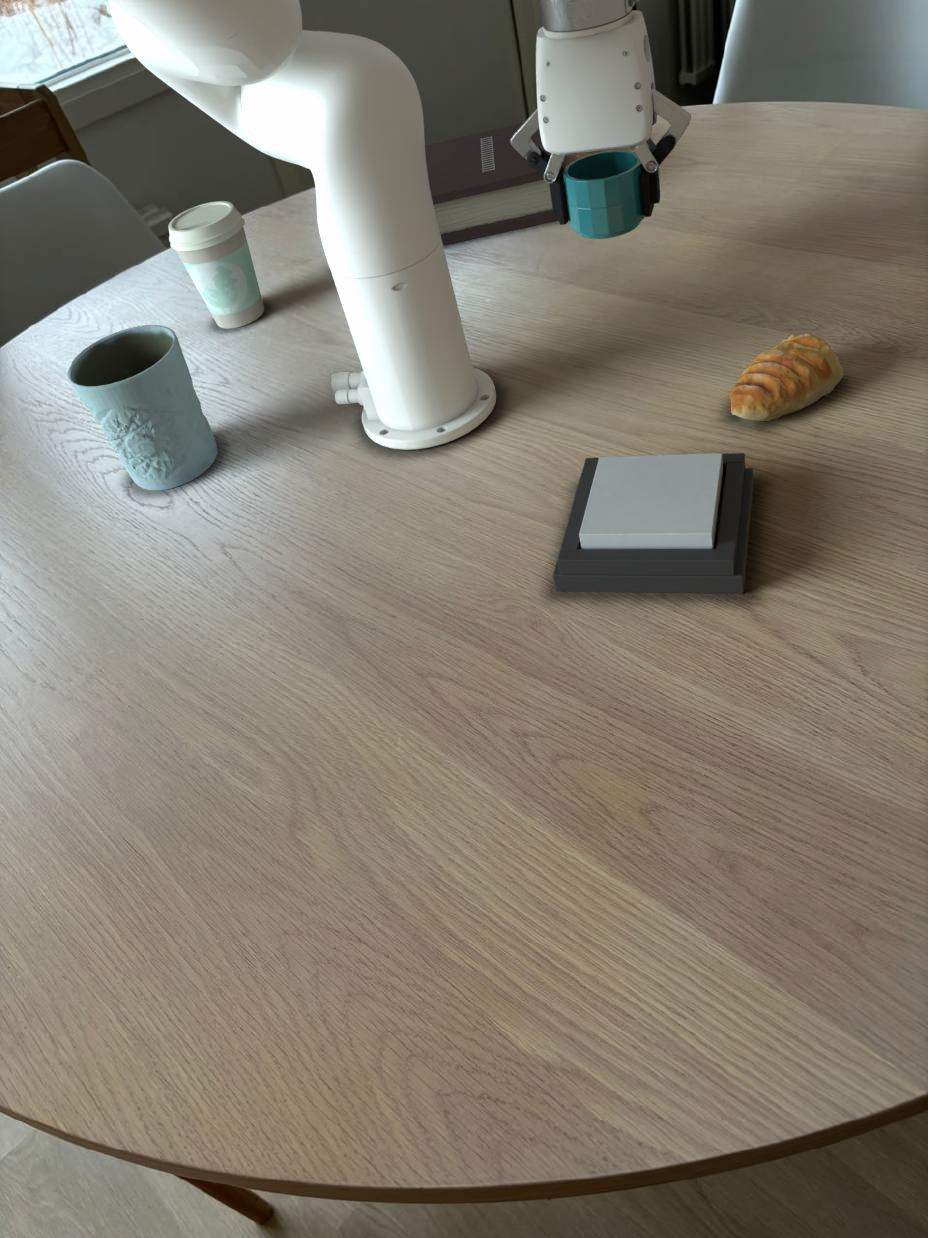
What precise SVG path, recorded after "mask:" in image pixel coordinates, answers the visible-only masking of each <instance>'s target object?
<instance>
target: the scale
mask: <svg viewBox="0 0 928 1238" xmlns="http://www.w3.org/2000/svg"><path fill="white" fill-rule="evenodd" d="M722 455H723V476H722V484H721V492H720V501H719V509H718V517H717V525H716V533H715V541H714V549H582V547H581V542H580V536H579V533H580V529H581V526H582V522H583V518H584V514H585V510H586V507H587V503H588V499H589V495H590V491H591V487H592V484H593V480H594V476H595V472H596V468H597V465H598V461H599V457H585V460H584V464H583V466H582V470H581V473H580V476H579V480H578V483H577V487H576V491H575V495H574V498H573V501H572V506H571V509H570V512H569V516H568V518H567V523H566V527H565V529H564V534H563V537H562V541H561V545H560V548H559V552H558V555H557V559H556V563H555V566H554V569H553V574H552V578H553V584H554V588H555V591H556V592H566V593H567V592H573V593H574V592H576V593H577V592H579V593H645V594H646V593H657V594H660V593H661V594H664V593H665V594H726V595H727V594H729V595H731V594H732V595H733V594H735V595H739V594H740V595H743V594H744V593H745V585H746V574H747V573H746V572H747V564H748V563H747V562H748V551H749V542H750V541H749V540H750V531H751V530H750V528H751V518H752V506H753V495H754V468H753V467H746V454H745V453H744V452H740V453H739V452H738V453H737V452H734V453H733V452H732V453H722Z"/></svg>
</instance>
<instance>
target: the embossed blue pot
mask: <svg viewBox="0 0 928 1238" xmlns="http://www.w3.org/2000/svg"><path fill="white" fill-rule="evenodd" d="M66 376H67V379H68V380H67V381H68V382H69V383H70V385H71V387H72V388H73V389H74V391H75V392H76V394H77V395H78V396H79V398H80V399H81V401H82V403H83V404H84V405H85V406H86V407H87V408H88V411H89V412H90V414H91V417H92V418H93V419H94V420H95V421H96V422H97V423H98V424H99V425H100V426H101V430H102V432H103V434H104V436H105V439H106V440H108V441H109V444H110V446H111V448H112V449H113V450H114V452H115V453H116V454H117V456H118V459H119V461H120V462H121V464H122V465H123V468H124V469H125V470H126V472H127V473H128V475H129V476H130V478H131V479H132V481H133V482H134V484H136V485H137V486H138V487H140V488H141V489H143V490H146V491H147V490H148V491H165V490H170V489H174V488H177V487H180V486H183V485H186V484H187V483H188V484H189V483H190V482H192V481H193V480H195V479H197V478H198V477H200V476H201V475H203V474H204V473H206V471H207V470H209V468H210V467H211V466H212V465H213V464H214V463H215V461H216V459H217V457H218V453H219V451H218V445H217V442H216V439H215V436H214V434H213V431H212V429H211V426H210V423H209V421H208V418H207V417H206V416H205V414H204V412H203V409H202V404H201V400H200V399H199V396H197V392H196V390H195V387H194V384H193V377H192V375H191V373H190V369H189V366H188V363H187V361H186V358H185V356H184V353H183V350H182V347H181V345H180V341H179V339H178V336H177V334H176V333H175V330H173V329H172V328H170V327H168V326H165V325H160V324H145V325H138V326H131V327H128V328H126V329H122V330H118V331H116V332H113V333H111V334H109V335H107V336H104V337H102V338H100V339H98V340H96V341H95V342H93V343H92V344H89V345H88V346H87V347H85V348H84V349H83V350H81V352H79V353H78V354H77V355H76V356H75V357H74V358H73V360H72V361H71V364H70V365H69V368H68V369H67V374H66Z"/></svg>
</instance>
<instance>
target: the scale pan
mask: <svg viewBox="0 0 928 1238" xmlns="http://www.w3.org/2000/svg"><path fill="white" fill-rule="evenodd" d="M722 454H723V452H722V453H721V452H715V453H714V452H712V453H709V452H708V453H679V454H678V453H677V454H652V455H651V454H648V455H619V456H618V455H617V456H616V455H615V456H599V457H598V458H599V461H598V465H597V468H596V472H595V476H594V480H593V484H592V487H591V491H590V495H589V499H588V503H587V507H586V510H585V514H584V518H583V522H582V526H581V529H580V533H579V536H580V542H581V547H582V549H714V541H715V533H716V525H717V517H718V509H719V501H720V492H721V484H722V476H723V455H722Z"/></svg>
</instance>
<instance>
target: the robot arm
mask: <svg viewBox="0 0 928 1238" xmlns="http://www.w3.org/2000/svg"><path fill="white" fill-rule="evenodd" d="M640 1H641V0H539V7H540V13H541V22H542V26H541V27H540V28H539V29H538V30H537V33H536V40H535V41H536V42H535V43H536V44H535V81H536V82H535V83H536V103H537V105H536V106H537V107H536V109H534V111H533V112H532V113H531V114H530V115H529V116H528V118H527V119H526V120H525V121H523V122H524V123H523V124H522V126H521V127H520V128H519V129H518V130H517V131H516V132H515V133H514V135H513V137H512V138H511V141H510V143H511V145H512V146H513V147H514V148H515V150H516V151H517V152H518V153H519V154H520V155H521V156H522V157H523V158H525V159H526V160H527V162H528V164H529V165H530V166H531V167H532V168H534V169H535V170H536V171H537V172H539V173H540V174H541V175H542V176H543V177H544V180H545V181H546V182H547V183H549V186H550V194H551V201H552V208H553V212H554V213H558V214H559V220H558V222H559V225H560V226H563V225H567V223H568V224H569V218H568V210H567V202H566V195H565V187H564V179H563V171H564V169H565V167H564V166H563V165H564V163H565V161H566V157H567V155H571V154H579V153H590V152H601V151H610V150H616V149H617V150H618V149H626V148H630V149H631V150H632V152H634V153H635V154H636V156H637V157H638V159H639V160H640V162H641V163H642V168H643V169H642V171H641V174H640V186H641V199H642V211H643V216H645V218H650V217H652V215H653V211H654V207H655V204H660V202H661V185H660V184H661V183H660V166H661V164H662V163H663V162H664V161H665V159H666V158H667V157H668V156H669V155H670V154H671V153H672V151H673V150H674V149H675V147H676V145H677V144H678V142H679V141H680V139H681V138H682V136H683V135H684V133H685V131H687V129H688V127H689V126H690V123H691V120H692V115H691V113H690V112H689V111H688V110H686V109H685V108H683V107H682V106H681V105H679V104H677V102H674V101H672V100H671V99H670V98H668V97H667V96H666V95H664V94H662V93H661V92H660V91H658V90H656V82H655V81H656V80H655V72H654V65H653V57H652V51H651V45H650V40H649V35H648V34H649V33H648V30H647V26H646V21H645V18H644V15H643V12H642V11H641V10H638V9H635V10H633V7H634V6H635V5H636V3H640ZM108 5H109V9H110V10H109V11H110V14H111V18H112V21H113V23H114V25H115V28H116V30H117V32H118V33H119V36H120V38H121V40H122V41H123V43H124V45H126V47H127V48H128V50H129V51H130V52H131V54H132V55H133V56H134V57H135V58H136V60H138V61H139V62H140V64H142V65H143V67H145V68H146V69H147V70H148V71H149V72H151V73H152V74H153V75H154V76H155V77H157V79H159V80H160V81H162V82H163V83H164V84H165V85H167V86H168V87H170V88H171V89H172V90H173V91H175V92H176V93H177V94H179V95H181V96H182V97H183V98H185V100H187V101H188V102H190V103H191V104H193V105H194V106H195V107H197V108H198V109H199V110H200V111H202V112H204V113H205V114H206V115H208V116H209V117H210V118H212V119H213V120H214V121H216V122H217V123H218V124H220V125H221V126H223V127H224V128H225V129H227V130H228V131H229V132H231V133H232V134H233V135H235V136H236V137H238V138H239V139H241V140H242V141H244V142H245V143H247V144H248V145H249V146H250V147H253V148H254V149H256V150H257V151H259V152H261V153H263V154H265V155H267V156H269V157H272V158H275V159H278V160H281V161H284V162H287V163H290V164H294V165H297V166H301V167H303V168H305V169H309V170H310V172H311V174H312V177H313V181H314V186H315V197H316V221H317V228H318V232H319V237H320V241H321V245H322V248H323V252H324V255H325V258H326V261H327V265H328V268H329V269H330V272H331V276H332V279H333V282H334V285H335V288H336V291H337V294H338V297H339V301H340V303H341V307H342V310H343V312H344V316H345V318H346V322H347V325H348V329H349V331H350V335H351V337H352V341H353V343H354V346H355V350H356V353H357V355H358V359H359V362H360V365H361V371H351V370H350V371H334V372H332V374H331V377H330V386H331V389H332V391H333V392H334V400H335V402H336V404H337V405H350V404H357V403H358V404H359V405H360V406H363V409H362V412H361V424H362V426H363V428H364V429H363V430H364V432H365V433H366V435H367V437H368V438H369V439H370V440H372V441H373V442H374V443H376V444H378V445H380V446H383V447H386V448H389V449H393V450H404V451H405V450H406V451H407V450H421V449H428V448H433V447H437V446H441V445H443V444H447V443H450V442H452V441H455V440H457V439H459V438H462V437H463V436H465V435H467V434H468V433H470V432H471V431H474V430H475V429H476V428H478V427H479V426H480V425H481V424H482V423H484V422H485V421H486V419H487V418H489V415H491V413H492V412H493V410H494V408H495V406H496V402H497V392H496V387H495V384H494V381H493V379H492V378H491V377H490V376H489V374H488V373H486V372H484V371H483V370H481V369H479V368H476V367H474V366H473V364H472V360H471V356H470V352H469V348H468V344H467V339H466V335H465V331H464V327H463V321H462V318H461V314H460V310H459V305H458V301H457V297H456V293H455V290H454V285H453V281H452V277H451V273H450V268H449V264H448V259H447V255H446V253H445V252H446V251H445V247H444V245H443V243H442V239H441V235H440V231H439V227H438V223H437V219H436V214H435V210H434V205H433V201H432V196H431V191H430V185H429V180H428V173H427V165H426V155H425V145H426V140H425V139H426V138H425V137H426V136H425V122H424V112H423V104H422V100H421V95H420V92H419V91H420V90H419V88H418V86H417V83H416V80H415V79H414V77H413V75H412V73H411V71H410V69H409V68H408V66H407V65H406V64H405V63H404V61H403V60H401V58H400V57H399V56H398V55H397V54H396V53H394V51H392V50H391V49H390V48H389V47H387V46H385V45H383V44H382V43H380V42H379V41H375V40H373V39H370V38H368V37H364V36H362V35H356V34H354V33H353V34H351V33H344V32H343V33H341V32H334V31H325V30H309V29H308V30H307V29H303V14H302V13H303V12H302V8H301V4H300V0H108ZM658 116H659V117H660V118H661V119H663V120H664V121H666V122H667V123H669V127H668V129H667V130H666V131H665V133H664V134H663V136H661V138H660V139H659V141H658V142H657V143H656V141H655V140H654V138H653V136H652V133H653V126H654V125H656V124H657V120H658ZM538 129H540V136H541V141H542V145H543V147H544V149H545V150H546V151H548V152H550V153H552V154H551V157H550V156H549V155H548V154H547V153H546V152H544V151H543V150H542V149H541V148H539V147H537V146H536V145H535V143H534V142H533V141H532V140H531V136H532V135H533V134H534V133H535V132H536V131H537V130H538Z"/></svg>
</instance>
